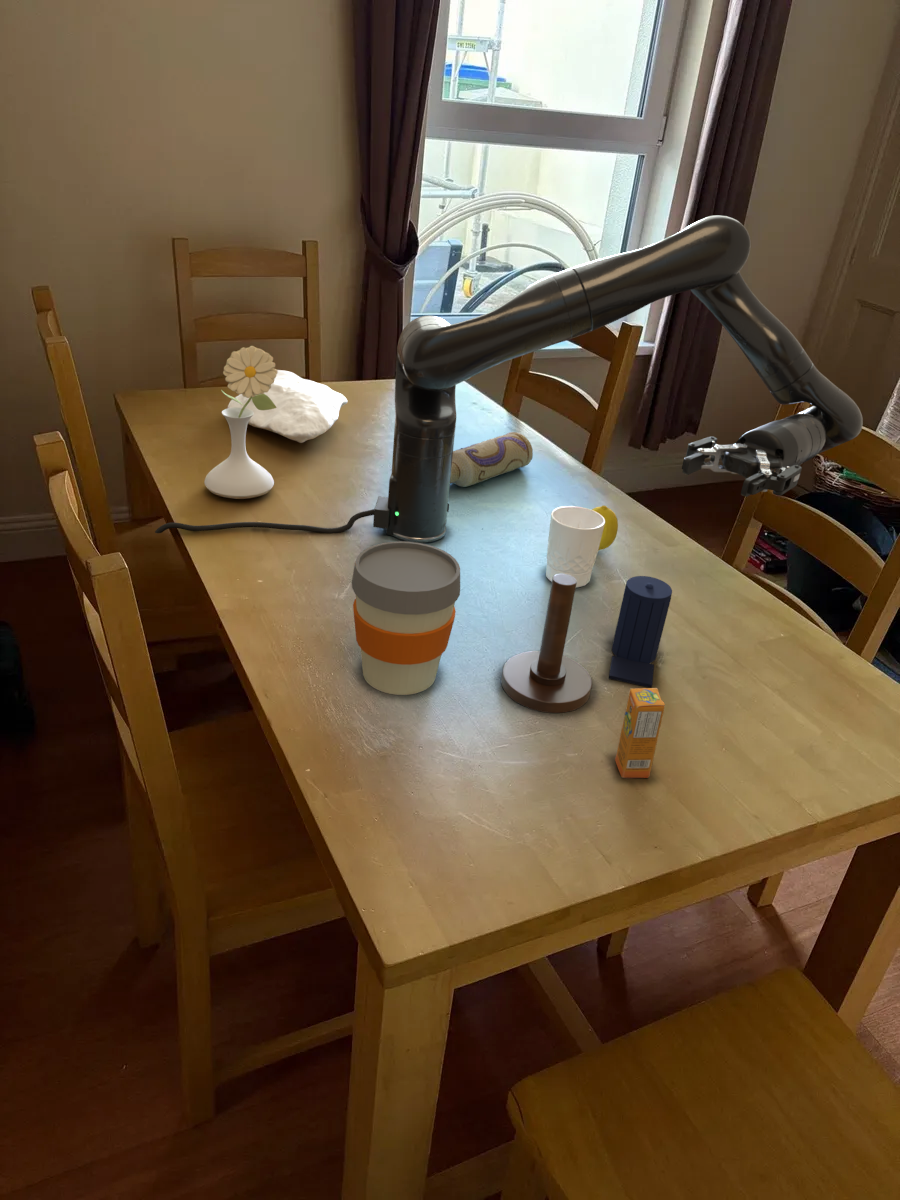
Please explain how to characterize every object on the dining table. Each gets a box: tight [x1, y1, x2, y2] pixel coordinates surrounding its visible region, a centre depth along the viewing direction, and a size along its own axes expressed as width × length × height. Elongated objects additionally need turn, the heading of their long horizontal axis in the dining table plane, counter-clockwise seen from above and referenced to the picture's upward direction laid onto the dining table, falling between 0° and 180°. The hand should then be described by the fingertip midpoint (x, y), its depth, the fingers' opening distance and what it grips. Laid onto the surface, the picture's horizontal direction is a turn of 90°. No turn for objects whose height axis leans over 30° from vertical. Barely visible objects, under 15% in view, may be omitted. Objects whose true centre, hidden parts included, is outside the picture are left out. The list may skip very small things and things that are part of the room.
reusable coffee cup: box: [351, 540, 461, 696], centre depth 105 cm, size 13×13×15 cm
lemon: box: [591, 505, 619, 552], centre depth 141 cm, size 6×6×8 cm
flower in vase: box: [203, 345, 278, 500], centre depth 144 cm, size 13×11×25 cm
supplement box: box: [614, 687, 666, 779], centre depth 95 cm, size 3×3×10 cm
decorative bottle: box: [450, 431, 534, 488], centre depth 162 cm, size 26×8×7 cm, turn 136°
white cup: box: [545, 505, 605, 588], centre depth 132 cm, size 8×8×10 cm
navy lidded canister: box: [608, 575, 673, 688], centre depth 113 cm, size 10×6×10 cm, turn 166°
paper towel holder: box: [500, 574, 593, 714], centre depth 106 cm, size 11×11×15 cm
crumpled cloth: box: [227, 369, 348, 444], centre depth 177 cm, size 24×35×9 cm
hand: (714, 477), depth 114 cm, fingers open, 8 cm apart
